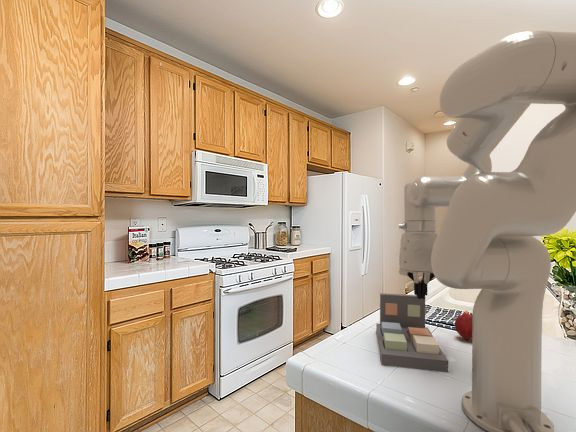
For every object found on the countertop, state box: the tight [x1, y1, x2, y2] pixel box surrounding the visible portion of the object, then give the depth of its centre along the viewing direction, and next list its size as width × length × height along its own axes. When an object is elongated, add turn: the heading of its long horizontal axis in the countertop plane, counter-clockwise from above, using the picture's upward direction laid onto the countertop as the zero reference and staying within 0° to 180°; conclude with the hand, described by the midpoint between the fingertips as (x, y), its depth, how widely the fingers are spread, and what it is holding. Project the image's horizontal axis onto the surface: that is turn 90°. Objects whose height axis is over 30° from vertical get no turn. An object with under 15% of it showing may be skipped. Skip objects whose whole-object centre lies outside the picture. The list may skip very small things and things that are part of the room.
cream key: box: [413, 335, 440, 354], centre depth 72 cm, size 5×5×2 cm
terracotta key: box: [408, 327, 431, 339], centre depth 80 cm, size 5×5×2 cm
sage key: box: [384, 333, 407, 351], centre depth 74 cm, size 5×5×2 cm
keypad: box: [375, 292, 449, 373], centre depth 77 cm, size 20×14×12 cm
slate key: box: [381, 322, 402, 336], centre depth 81 cm, size 5×5×2 cm
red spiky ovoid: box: [454, 310, 473, 341], centre depth 83 cm, size 6×6×8 cm
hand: (420, 297), depth 79 cm, fingers closed
